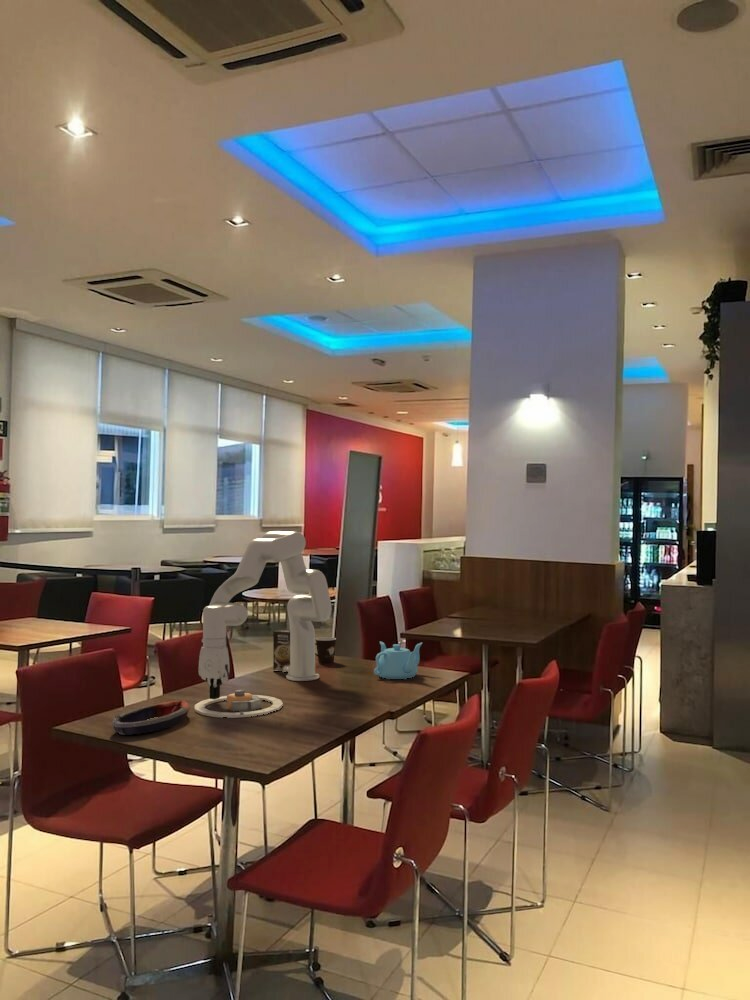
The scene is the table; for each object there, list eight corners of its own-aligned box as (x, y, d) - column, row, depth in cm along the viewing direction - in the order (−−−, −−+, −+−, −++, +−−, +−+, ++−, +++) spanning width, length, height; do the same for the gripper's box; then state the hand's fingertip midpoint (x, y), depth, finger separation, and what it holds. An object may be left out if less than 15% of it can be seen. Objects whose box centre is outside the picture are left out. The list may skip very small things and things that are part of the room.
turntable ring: (176, 710, 261) (176, 707, 261) (235, 693, 285) (235, 690, 285) (243, 721, 246) (243, 718, 246) (299, 703, 270) (299, 699, 270)
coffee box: (272, 672, 324) (272, 631, 325) (280, 669, 330) (279, 629, 331) (293, 673, 321) (293, 632, 321) (300, 670, 327) (300, 630, 327)
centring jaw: (229, 711, 260) (229, 702, 260) (253, 703, 270) (253, 694, 270) (244, 713, 256) (244, 704, 257) (268, 706, 267) (268, 696, 267)
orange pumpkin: (222, 709, 263) (222, 692, 264) (237, 703, 271) (237, 687, 271) (242, 711, 260) (242, 694, 260) (257, 706, 267) (256, 689, 267)
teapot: (422, 672, 322) (422, 641, 322) (417, 682, 303) (417, 649, 304) (380, 671, 325) (379, 640, 325) (371, 680, 306) (371, 648, 307)
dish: (96, 735, 233) (96, 717, 233) (168, 711, 261) (168, 696, 261) (137, 742, 226) (137, 723, 226) (207, 716, 254) (207, 700, 254)
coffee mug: (333, 660, 349) (333, 636, 349) (338, 663, 341) (338, 639, 341) (306, 661, 346) (306, 638, 346) (311, 665, 337) (311, 641, 338)
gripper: (189, 642, 272) (190, 698, 271) (224, 646, 264) (224, 703, 264) (205, 639, 278) (205, 693, 278) (239, 643, 271) (239, 698, 270)
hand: (214, 698), depth 271 cm, fingers closed
